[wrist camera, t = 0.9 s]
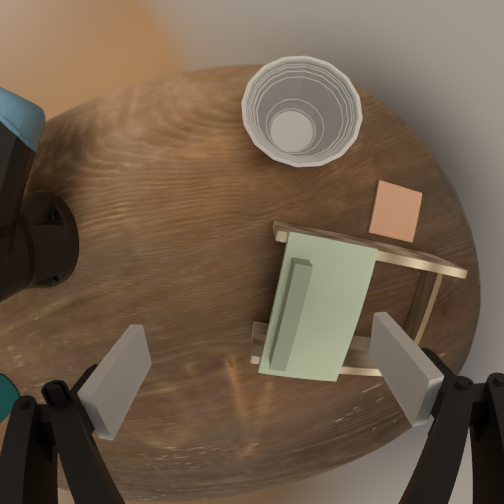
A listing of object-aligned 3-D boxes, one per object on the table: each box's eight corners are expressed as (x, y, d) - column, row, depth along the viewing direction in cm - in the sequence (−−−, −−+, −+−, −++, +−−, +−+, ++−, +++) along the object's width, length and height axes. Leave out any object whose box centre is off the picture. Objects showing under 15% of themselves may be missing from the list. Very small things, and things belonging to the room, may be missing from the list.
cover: (258, 367, 31) (258, 385, 28) (288, 230, 28) (292, 235, 25) (334, 376, 31) (340, 394, 28) (374, 247, 28) (387, 254, 25)
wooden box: (252, 327, 40) (250, 362, 32) (273, 220, 37) (277, 230, 28) (402, 345, 41) (426, 376, 32) (432, 254, 37) (467, 270, 29)
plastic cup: (236, 104, 34) (225, 69, 22) (317, 85, 33) (339, 46, 21) (260, 183, 36) (260, 181, 24) (342, 162, 35) (377, 152, 24)
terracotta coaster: (367, 231, 37) (368, 232, 36) (377, 180, 36) (379, 180, 35) (410, 241, 37) (412, 242, 36) (420, 193, 36) (422, 193, 35)
